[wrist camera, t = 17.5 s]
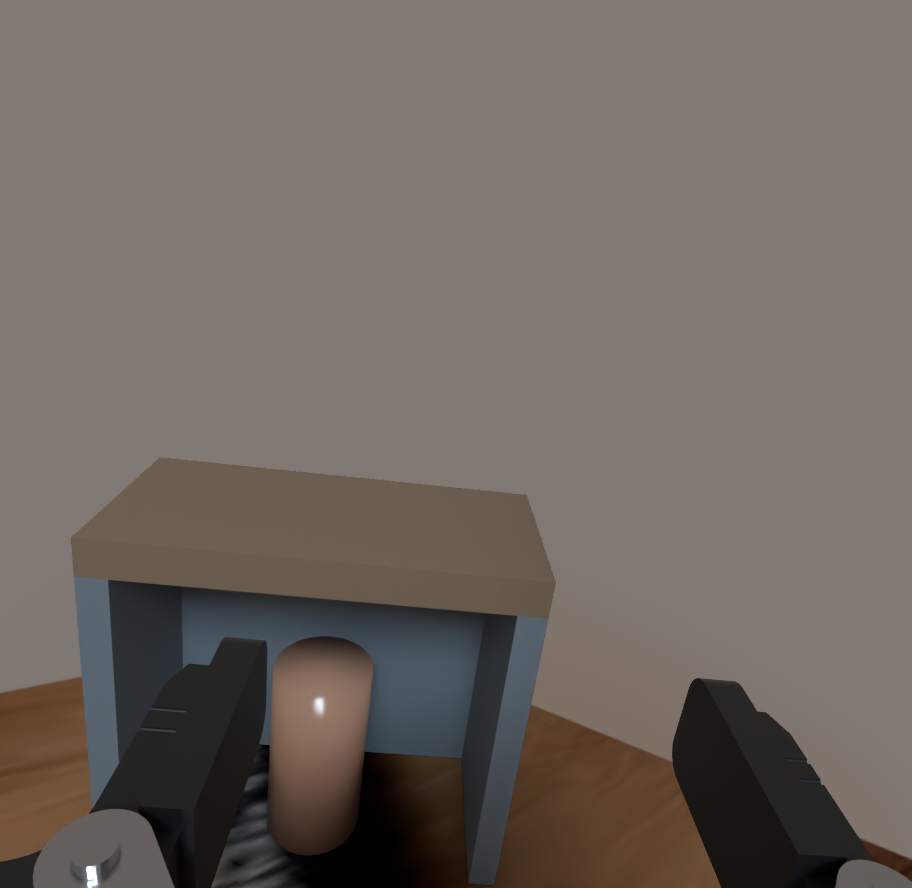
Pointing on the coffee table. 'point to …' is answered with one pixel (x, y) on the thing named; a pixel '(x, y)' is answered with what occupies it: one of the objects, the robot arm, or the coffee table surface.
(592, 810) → the coffee table surface
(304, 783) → the pinkish-brown cylinder
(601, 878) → the coffee table surface
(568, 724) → the coffee table surface
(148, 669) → the counter
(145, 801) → the robot arm
